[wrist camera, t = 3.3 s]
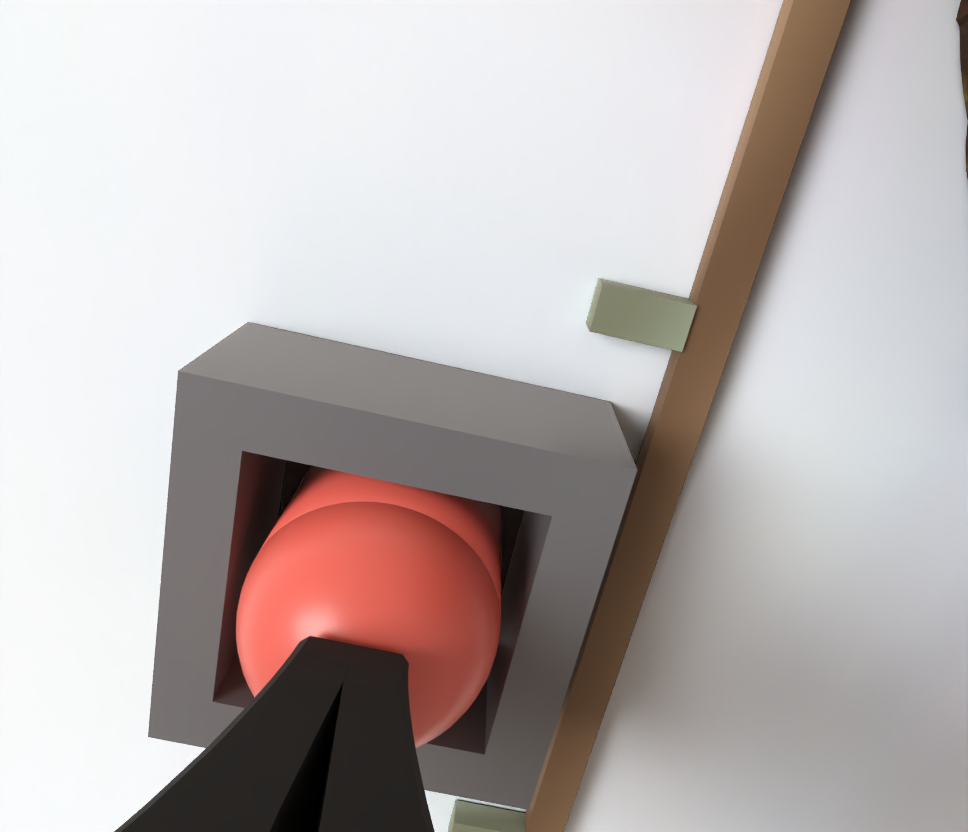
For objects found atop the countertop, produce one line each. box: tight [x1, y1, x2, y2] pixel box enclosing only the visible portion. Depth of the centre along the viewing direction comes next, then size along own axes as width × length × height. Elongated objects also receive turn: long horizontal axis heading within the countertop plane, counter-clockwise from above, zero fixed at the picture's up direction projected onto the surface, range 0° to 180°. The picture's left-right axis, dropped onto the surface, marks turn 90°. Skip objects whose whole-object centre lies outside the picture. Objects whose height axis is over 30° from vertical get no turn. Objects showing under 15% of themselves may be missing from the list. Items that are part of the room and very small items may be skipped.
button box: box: [148, 322, 637, 810], centre depth 13 cm, size 7×7×3 cm
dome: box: [236, 466, 502, 748], centre depth 12 cm, size 4×4×5 cm
